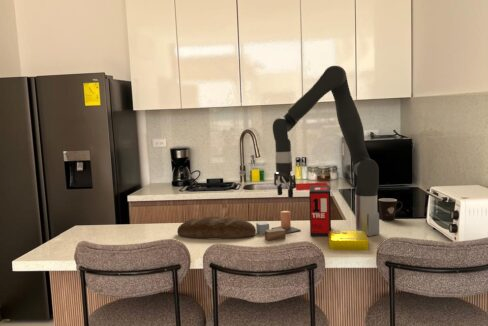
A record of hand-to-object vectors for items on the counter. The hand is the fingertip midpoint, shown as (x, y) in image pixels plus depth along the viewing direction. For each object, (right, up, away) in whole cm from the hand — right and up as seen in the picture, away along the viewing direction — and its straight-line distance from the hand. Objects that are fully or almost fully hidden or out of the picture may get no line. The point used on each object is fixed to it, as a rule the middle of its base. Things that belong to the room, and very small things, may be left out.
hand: (285, 196), depth 192 cm
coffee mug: (+54, -13, +14) cm, 57 cm away
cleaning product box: (+16, -16, -4) cm, 23 cm away
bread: (-32, -18, -2) cm, 36 cm away
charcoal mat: (0, -16, +1) cm, 16 cm away
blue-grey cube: (-10, -17, -2) cm, 20 cm away
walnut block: (-6, -18, -12) cm, 22 cm away
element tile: (+23, -18, -25) cm, 38 cm away
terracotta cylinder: (+1, -15, +1) cm, 15 cm away
